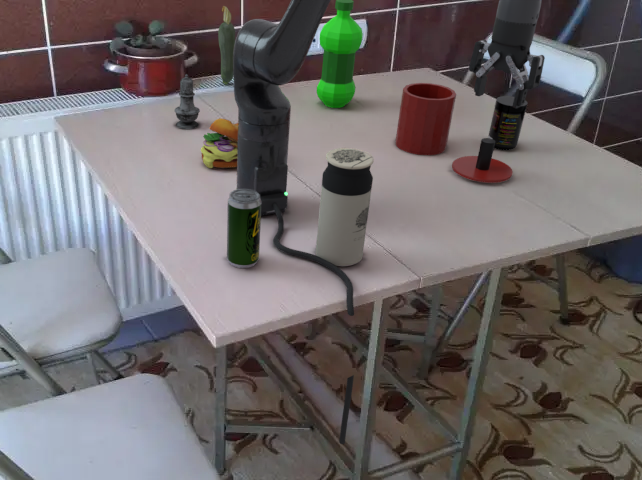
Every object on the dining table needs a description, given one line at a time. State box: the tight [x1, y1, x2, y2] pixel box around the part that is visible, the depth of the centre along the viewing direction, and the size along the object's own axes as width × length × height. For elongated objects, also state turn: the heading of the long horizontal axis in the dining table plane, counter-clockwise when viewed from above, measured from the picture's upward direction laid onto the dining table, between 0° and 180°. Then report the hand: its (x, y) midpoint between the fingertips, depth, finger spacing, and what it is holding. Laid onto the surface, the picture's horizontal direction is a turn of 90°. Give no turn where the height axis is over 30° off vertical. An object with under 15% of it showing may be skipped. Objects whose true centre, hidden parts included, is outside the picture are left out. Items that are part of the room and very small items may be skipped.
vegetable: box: [217, 5, 236, 85], centre depth 193 cm, size 4×4×20 cm
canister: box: [395, 82, 457, 156], centre depth 165 cm, size 11×11×12 cm
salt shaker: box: [174, 73, 201, 130], centre depth 171 cm, size 6×6×12 cm
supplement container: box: [487, 95, 528, 151], centre depth 167 cm, size 7×7×10 cm
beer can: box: [226, 188, 262, 269], centre depth 121 cm, size 5×5×12 cm
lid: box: [451, 137, 514, 184], centre depth 155 cm, size 12×12×7 cm
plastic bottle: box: [316, 0, 364, 109], centre depth 182 cm, size 10×10×25 cm
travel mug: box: [315, 147, 375, 267], centre depth 122 cm, size 8×8×18 cm
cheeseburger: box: [200, 117, 238, 169], centre depth 156 cm, size 10×11×10 cm
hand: (497, 101), depth 148 cm, fingers open, 8 cm apart
